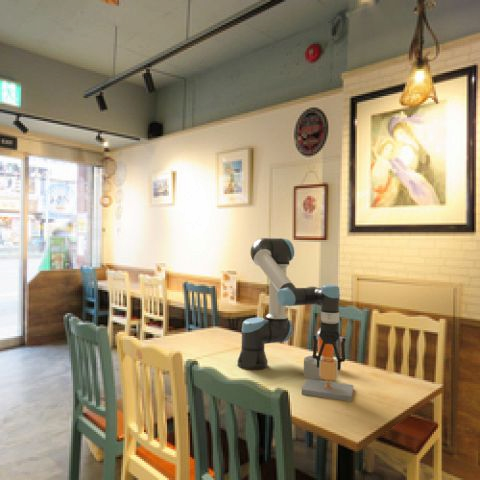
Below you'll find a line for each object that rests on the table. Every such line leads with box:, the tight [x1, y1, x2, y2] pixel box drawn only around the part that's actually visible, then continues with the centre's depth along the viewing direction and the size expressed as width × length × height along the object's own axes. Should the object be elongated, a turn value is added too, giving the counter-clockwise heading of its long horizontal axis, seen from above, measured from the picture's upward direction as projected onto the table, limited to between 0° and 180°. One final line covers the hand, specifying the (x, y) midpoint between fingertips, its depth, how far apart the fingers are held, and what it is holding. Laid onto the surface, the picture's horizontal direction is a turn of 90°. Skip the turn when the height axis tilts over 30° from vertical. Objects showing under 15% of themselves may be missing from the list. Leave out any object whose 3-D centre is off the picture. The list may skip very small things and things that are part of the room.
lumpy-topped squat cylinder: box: [303, 354, 325, 381], centre depth 193 cm, size 10×13×9 cm
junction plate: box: [301, 378, 354, 402], centre depth 172 cm, size 20×14×7 cm
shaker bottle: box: [317, 326, 335, 359], centre depth 207 cm, size 9×9×20 cm
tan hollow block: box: [320, 357, 337, 381], centre depth 172 cm, size 6×6×8 cm
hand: (328, 376), depth 172 cm, fingers closed on tan hollow block, 6 cm apart
